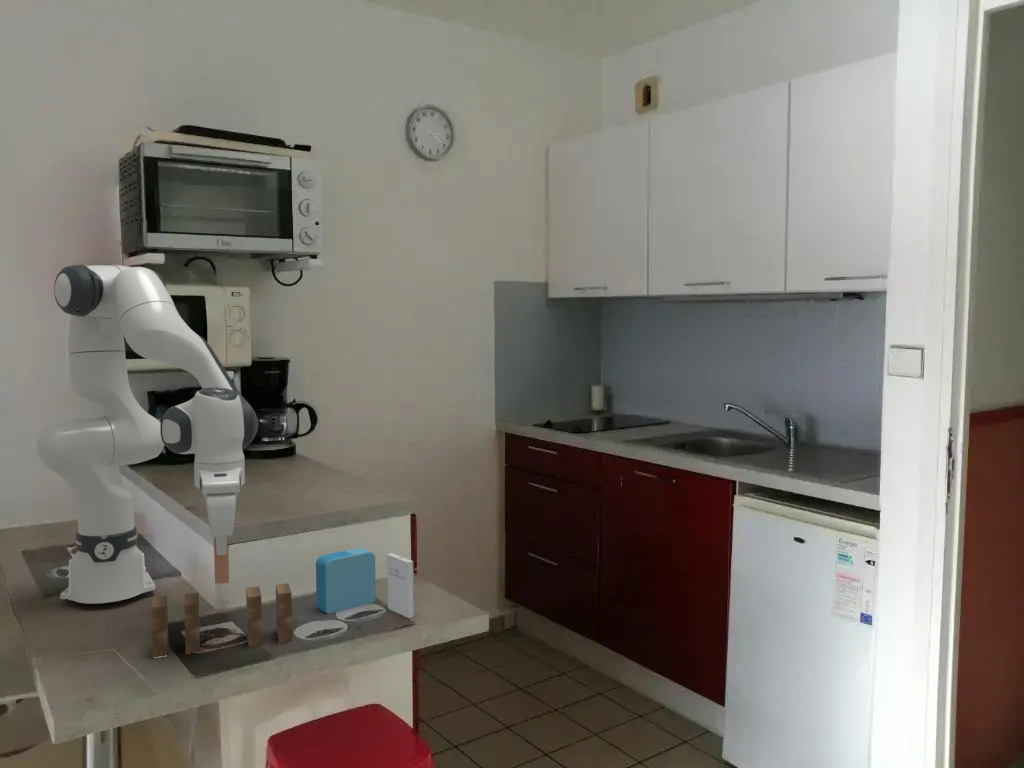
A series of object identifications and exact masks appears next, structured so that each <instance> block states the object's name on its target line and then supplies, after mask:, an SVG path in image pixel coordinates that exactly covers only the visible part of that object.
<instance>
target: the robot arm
mask: <svg viewBox="0 0 1024 768" xmlns="http://www.w3.org/2000/svg"><path fill="white" fill-rule="evenodd" d="M167 289H168V288H167V284H166V282H165V280H164V278H163V276H162V275H161V274H160V273H159V272H157V271H155V270H152V269H150V268H147V267H143V266H126V265H120V264H111V265H106V264H104V265H103V264H101V265H100V264H99V265H97V264H96V265H84V264H72V265H68V266H65V267H63V268H62V269H60V271H59V272H58V274H57V275H56V277H55V281H54V287H53V290H54V293H53V294H54V297H55V298H54V299H55V302H56V304H57V306H58V307H59V308H60V309H61V311H62V312H64V313H66V314H68V315H70V318H69V324H68V335H67V336H68V337H67V340H68V341H67V346H68V347H67V349H68V365H69V374H70V375H69V376H70V377H69V379H70V387H71V389H72V391H73V392H74V393H75V394H76V395H77V396H78V397H81V398H82V399H84V400H87V401H90V402H92V403H94V404H95V405H96V406H97V408H98V409H99V412H100V414H101V416H100V417H98V416H97V417H85V418H84V417H83V418H72V419H71V418H70V419H67V420H63V421H58V422H54V423H52V424H47V425H46V426H45V427H44V428H43V429H42V430H41V432H40V434H39V435H38V437H37V442H36V452H37V453H36V454H37V456H38V458H39V460H40V462H42V464H43V465H44V466H45V467H46V469H49V470H50V471H51V472H54V473H55V474H57V475H59V476H60V477H61V478H62V479H63V480H64V482H65V483H67V485H68V486H69V488H70V490H71V492H72V493H73V496H74V501H75V505H76V506H75V507H76V515H77V528H78V529H77V532H76V534H75V549H76V553H75V554H74V555H73V556H72V557H71V559H69V561H68V587H67V588H66V589H64V590H63V591H62V592H61V593H60V594H59V595H60V596H59V598H60V600H65V599H68V600H69V601H73V602H76V603H81V604H105V603H106V604H108V603H114V602H120V601H123V600H128V599H131V598H134V597H136V596H140V595H141V594H144V593H148V592H151V591H154V590H156V583H155V582H154V579H152V576H150V574H149V572H148V568H147V567H146V566H145V563H146V562H145V554H144V552H143V551H142V550H140V549H139V547H138V546H137V544H138V532H137V527H136V526H135V508H134V501H135V499H134V496H133V494H132V492H131V489H129V488H128V487H126V486H124V485H122V484H121V483H117V482H114V481H113V480H112V481H111V480H109V479H108V476H107V474H106V469H107V468H112V467H120V466H129V465H136V464H139V463H140V464H141V463H143V462H144V463H145V462H146V461H149V460H152V459H155V458H157V457H159V455H160V454H161V453H162V451H163V449H164V447H166V448H167V449H168V450H170V451H171V452H172V453H174V454H179V455H191V454H194V461H193V463H194V464H193V470H194V471H193V473H194V486H195V488H197V489H199V491H200V492H201V494H202V496H204V499H205V504H206V513H207V518H208V519H207V521H208V525H209V532H210V536H211V537H213V538H214V537H215V539H216V554H217V555H225V554H226V553H227V538H228V539H229V537H230V536H232V535H233V533H234V526H235V515H236V508H237V507H236V506H237V497H238V493H239V492H240V490H241V488H242V486H244V485H245V483H246V475H245V474H246V473H245V472H246V471H245V470H246V469H245V466H246V465H245V454H244V451H243V450H245V449H246V448H247V447H248V446H249V445H250V444H251V443H252V441H253V440H254V438H255V437H256V435H257V432H258V430H259V420H258V416H257V414H256V412H255V410H254V408H253V407H252V406H251V404H250V403H249V402H248V401H247V400H246V399H245V398H244V397H243V396H242V395H241V393H240V392H239V391H240V390H238V389H237V387H236V385H235V383H234V382H233V380H232V378H231V377H230V376H229V374H228V372H227V370H226V369H225V367H224V365H223V364H222V363H221V360H220V359H219V357H218V356H217V354H216V353H215V352H214V349H213V348H212V347H211V345H210V344H209V343H208V341H207V340H205V338H204V337H202V336H201V335H199V334H198V333H196V332H195V331H193V329H191V327H189V326H188V324H187V323H186V322H185V320H184V319H183V318H182V316H181V315H180V313H179V312H178V309H177V307H176V306H175V303H174V301H173V300H174V299H172V296H171V295H170V293H169V291H168V290H167ZM124 339H125V340H124ZM125 341H126V343H127V345H128V346H129V347H130V348H131V350H132V352H134V353H135V354H137V355H138V356H140V357H142V358H144V359H147V360H149V361H152V362H153V361H154V362H158V363H162V364H166V365H170V366H173V367H176V368H179V369H182V370H183V371H186V372H188V373H189V374H191V375H192V376H194V377H195V378H196V380H197V381H198V383H199V385H200V387H201V388H200V389H199V390H197V391H196V393H194V396H193V397H192V398H191V399H189V400H187V401H185V402H183V403H180V404H177V405H175V406H174V405H172V406H170V407H169V408H168V409H167V410H166V412H165V413H164V414H163V416H162V419H161V420H160V421H159V420H158V419H157V418H156V417H154V416H153V415H151V414H149V412H147V411H146V410H145V409H143V407H142V406H141V405H140V403H139V402H138V401H137V398H135V396H134V393H133V392H132V389H131V387H130V386H131V385H130V380H129V376H128V375H129V374H128V367H127V357H126V348H125V347H126V345H125Z"/></svg>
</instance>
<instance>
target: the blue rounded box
mask: <svg viewBox="0 0 1024 768" xmlns="http://www.w3.org/2000/svg"><path fill="white" fill-rule="evenodd" d="M315 585H316V586H315V591H316V593H315V595H316V601H315V602H316V608H317V609H318V610H320V611H321V612H323V613H325V614H327V615H329V614H335V613H337V612H341V611H345V610H349V609H353V608H357V607H360V606H361V607H362V606H364V605H368V604H373V603H375V602H376V596H377V595H376V590H377V589H376V555H375V554H374V552H372V551H370V550H367V549H365V548H362V547H357V548H352V549H347V550H346V549H345V550H342V551H337V552H333V553H326V554H322V555H320V556H319V557H317V559H316V562H315Z"/></svg>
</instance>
